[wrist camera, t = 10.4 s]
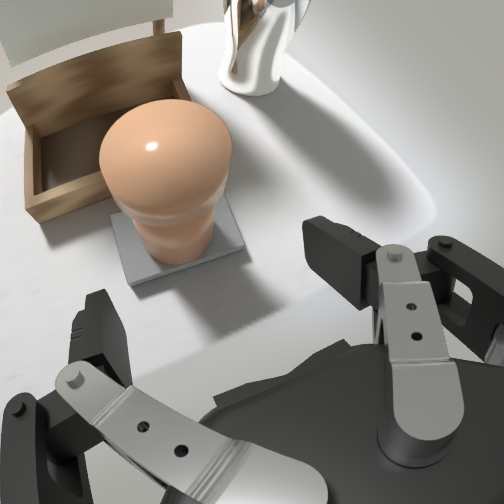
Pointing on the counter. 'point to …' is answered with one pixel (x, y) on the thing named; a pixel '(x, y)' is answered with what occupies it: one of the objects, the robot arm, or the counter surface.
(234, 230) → the tile
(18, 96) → the open wooden box
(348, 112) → the counter surface
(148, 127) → the peach mushroom shaped stopper
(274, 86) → the beer glass
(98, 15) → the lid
